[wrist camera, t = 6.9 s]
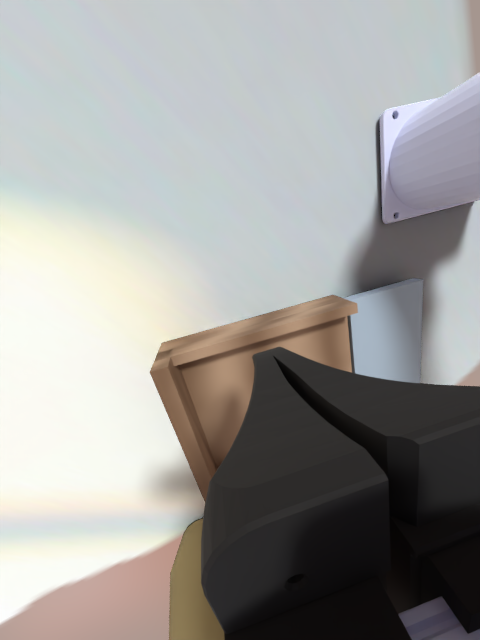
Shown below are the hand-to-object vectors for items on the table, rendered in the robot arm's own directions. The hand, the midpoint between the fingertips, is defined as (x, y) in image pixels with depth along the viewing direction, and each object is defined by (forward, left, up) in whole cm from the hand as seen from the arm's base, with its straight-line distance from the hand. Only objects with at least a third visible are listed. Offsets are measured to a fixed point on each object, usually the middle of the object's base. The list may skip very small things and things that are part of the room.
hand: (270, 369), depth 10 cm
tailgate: (-9, +8, -8) cm, 15 cm away
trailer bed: (-1, +8, -10) cm, 13 cm away
